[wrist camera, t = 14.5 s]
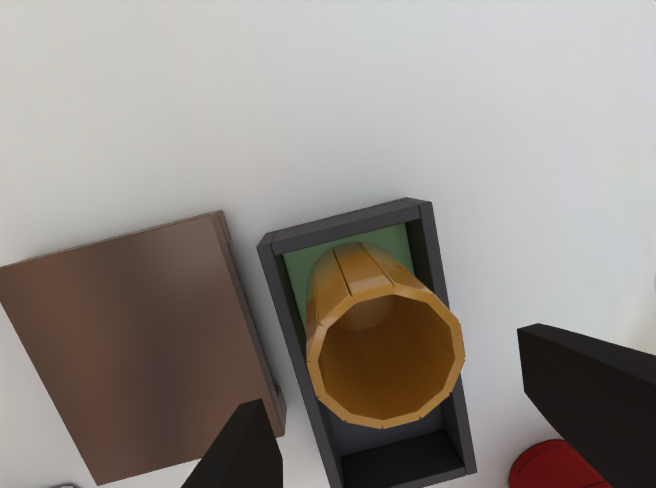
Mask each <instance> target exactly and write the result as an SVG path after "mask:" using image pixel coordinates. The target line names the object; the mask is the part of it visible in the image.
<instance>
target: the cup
mask: <svg viewBox="0 0 656 488" xmlns="http://www.w3.org/2000/svg"><path fill="white" fill-rule="evenodd" d="M464 358H465V351H464V344H463V338H462V331H461V325H460V323H459V320H458V319H457V318H456V317H455V316H454V314H453V313H452V312H451V311H450V310H449V309H448V308H447V307H446V306H445V305H444V304H443V303H442V301H441V300H440V299H439V298H438V297H437V296H436V295H435V294H434V293H433V292H432V291H430V290H429V289H428V288H427V287H426V286H425V285H424V284H423V283H422V282H420V281H419V280H418V279H417V278H416V277H415V276H414V275H413V274H412V273H410V272H409V271H408V270H407V269H406V268H405V267H404V266H403V265H401V264H400V263H399V262H398V261H397V260H396V259H395V258H394V257H393V256H391V255H390V254H389V253H388V252H387V251H386V250H384V249H383V248H380V247H378V246H376V245H373V244H370V243H366V242H358V241H355V242H347V243H343V244H339V245H337V246H335V247H333V248H331V249H329V250H328V251H326V252H325V253H324V254H323V255H322V256H321V257H320V258H319V259H318V260H317V261H316V263H315V264H314V266H313V268H312V270H311V272H310V275H309V278H308V284H307V288H306V364H307V367H308V371H309V374H310V378H311V381H312V384H313V388H314V391H315V395H316V396H318V399H319V400H320V401H321V402H322V403H323V404H324V405H326V406H327V407H328V408H329V409H330V410H331V411H333V412H334V413H335V414H336V415H337V416H338V417H340V418H341V419H342V420H343V421H345V420H346V422H347V423H352V424H358V425H363V426H368V427H373V428H378V429H381V428H382V426H383V428H384V429H386V428H390V427H394V426H398V425H401V424H405V423H409V422H413V421H416V420H419V416H420V417H421V418H423V417H424V416H425V415H427V414H428V413H429V412H430V411H431V410H433V409H434V408H435V407H436V406H437V405H439V404H440V403H441V402H442V401H443V400H444V399H446V398H447V397H448V396H449V395H450V394H449V392H452V391H453V388H454V386H455V383H456V381H457V379H458V376H459V374H460V371H461V369H462V367H463V364H464V362H465V359H464Z"/></svg>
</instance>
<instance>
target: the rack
mask: <svg viewBox="0 0 656 488" xmlns="http://www.w3.org/2000/svg"><path fill="white" fill-rule="evenodd" d="M355 241H358V242H366V243H370V244H373V245H376V246H378V247H380V248H383V249H384V250H386V251H387V252H388V253H389V254H390V255H391V256H393V257H394V258H395V259H396V260H397V261H398V262H399V263H400V264H401V265H403V266H404V267H405V268H406V269H407V270H408V271H409V272H410V273H412V274H413V275H414V276H415V277H416V278H417V279H418V280H419V281H420V282H422V283H423V284H424V285H425V286H426V287H427V288H428V289H429V290H430V291H432V292H433V293H434V294H435V295H436V296H437V297H438V298H439V299H440V300H441V301H442V303H443V304H444V305H445V306H446V307H447V308H448V309H449V310H450V308H449V302H448V296H447V290H446V284H445V278H444V272H443V266H442V260H441V254H440V248H439V242H438V236H437V231H436V225H435V219H434V213H433V207H432V202H429V201H424V200H418V199H413V198H408V197H407V198H403V199H399V200H395V201H391V202H387V203H383V204H379V205H375V206H372V207H368V208H364V209H360V210H356V211H352V212H348V213H344V214H340V215H336V216H333V217H329V218H325V219H321V220H317V221H313V222H309V223H305V224H301V225H297V226H293V227H290V228H286V229H282V230H278V231H274V232H270V233H266V234H265V236H264V237H263V239H262V240H261V241H260V243H259V244H258V246H257V251H258V254H259V257H260V260H261V264H262V267H263V270H264V273H265V277H266V280H267V283H268V286H269V290H270V293H271V296H272V299H273V303H274V306H275V309H276V312H277V315H278V319H279V322H280V325H281V328H282V332H283V335H284V338H285V341H286V345H287V348H288V351H289V354H290V358H291V361H292V364H293V367H294V371H295V374H296V377H297V380H298V384H299V387H300V390H301V393H302V397H303V400H304V403H305V406H306V409H307V413H308V416H309V419H310V422H311V426H312V429H313V432H314V435H315V439H316V442H317V445H318V448H319V452H320V455H321V458H322V461H323V465H324V468H325V471H326V474H327V478H328V481H329V484H330V487H331V488H423V487H427V486H430V485H434V484H438V483H441V482H445V481H448V480H452V479H456V478H459V477H463V476H466V474H467V475H470V474H474V473H477V468H476V462H475V456H474V450H473V444H472V438H471V432H470V426H469V420H468V414H467V409H466V403H465V397H464V391H463V385H462V379H461V373H460V374H459V376H458V379H457V381H456V383H455V386H454V388H453V391H452V392H449V394H450V395H449V396H448V397H447V398H446V399H444V400H443V401H442V402H441V403H440V404H439V405H437V406H436V407H435V408H434V409H433V410H431V411H430V412H429V413H428V414H427V415H425V416H424V417H423V418H421V417H420V416H419V420H416V421H413V422H409V423H405V424H401V425H398V426H394V427H390V428H386V429H384V428H383V426H382V428H381V429H378V428H373V427H368V426H363V425H358V424H352V423H347V422H346V420H345V421H343V420H342V419H341V418H340V417H338V416H337V415H336V414H335V413H334V412H333V411H331V410H330V409H329V408H328V407H327V406H326V405H324V404H323V403H322V402H321V401H320V400H319V399H318V396H316V395H315V391H314V388H313V384H312V381H311V378H310V374H309V371H308V367H307V364H306V288H307V284H308V278H309V275H310V272H311V270H312V268H313V266H314V264H315V263H316V261H317V260H318V259H319V258H320V257H321V256H322V255H323V254H324V253H325V252H326V251H328V250H329V249H331V248H333V247H335V246H337V245H339V244H343V243H347V242H355Z"/></svg>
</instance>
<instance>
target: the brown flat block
mask: <svg viewBox="0 0 656 488" xmlns="http://www.w3.org/2000/svg"><path fill="white" fill-rule="evenodd" d="M229 241H231V236H230V233H229V230H228V227H227V223H226V220H225V217H224V214H223V211H222V210H219V211H215V212H211V213H207V214H203V215H199V216H195V217H191V218H188V219H184V220H180V221H176V222H172V223H168V224H164V225H160V226H156V227H152V228H148V229H144V230H140V231H136V232H132V233H128V234H124V235H121V236H117V237H113V238H109V239H105V240H101V241H97V242H93V243H89V244H85V245H81V246H77V247H73V248H69V249H65V250H61V251H58V252H54V253H50V254H46V255H42V256H38V257H34V258H30V259H26V260H22V261H19V262H16V263H12V264H9V265H5V266H2V267H0V302H1V304H2V306H3V308H4V310H5V312H6V314H7V316H8V317H9V319H10V321H11V323H12V325H13V327H14V329H15V331H16V333H17V335H18V336H19V338H20V340H21V342H22V344H23V346H24V348H25V350H26V352H27V354H28V355H29V357H30V359H31V361H32V363H33V365H34V367H35V369H36V371H37V373H38V374H39V376H40V378H41V380H42V382H43V384H44V386H45V388H46V390H47V392H48V393H49V395H50V397H51V399H52V401H53V403H54V405H55V407H56V409H57V411H58V412H59V414H60V416H61V418H62V420H63V422H64V424H65V426H66V428H67V430H68V431H69V433H70V435H71V437H72V439H73V441H74V443H75V445H76V447H77V449H78V450H79V452H80V454H81V456H82V458H83V460H84V462H85V464H86V466H87V467H88V469H89V471H90V473H91V475H92V477H93V479H94V481H95V483H96V485H97V486H100V485H103V484H107V483H111V482H115V481H118V480H122V479H126V478H129V477H133V476H137V475H141V474H144V473H148V472H152V471H155V470H159V469H163V468H167V467H170V466H174V465H178V464H181V463H185V462H189V461H193V460H196V459H200V458H202V457H203V456H204V455H205V453H206V452H207V450H208V449H209V447H210V446H211V445H212V443H213V442H214V440H215V439H216V437H217V436H218V434H219V433H220V431H221V430H222V429H223V427H224V426H225V424H226V423H227V421H228V420H229V418H230V417H231V415H232V414H233V413H234V411H235V410H236V408H237V407H238V406H239V404H241V403H245V402H249V401H252V400H256V399H260V398H262V400H263V403H264V406H265V409H266V412H267V415H268V418H269V421H270V423H271V426H272V429H273V432H274V435H275V438H278V437H282V436H284V435H285V424H286V412H287V407H286V404H285V401H284V398H283V395H282V392H281V389H280V386H276V387H274V384H273V381H272V378H271V375H270V372H269V369H268V366H267V363H266V360H265V357H264V354H263V351H262V348H261V345H260V342H259V339H258V336H257V333H256V330H255V327H254V324H253V321H252V318H251V315H250V312H249V309H248V306H247V303H246V300H245V297H244V293H243V290H242V287H241V284H240V281H239V278H238V275H237V272H236V269H235V266H234V263H233V260H232V257H231V254H230V251H229V248H228V245H227V243H228V242H229Z"/></svg>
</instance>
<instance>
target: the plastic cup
mask: <svg viewBox="0 0 656 488" xmlns="http://www.w3.org/2000/svg"><path fill="white" fill-rule="evenodd" d="M508 483H509V488H613V487H612V486H611V485H610V484H609V483H608V482H607V481H606V480H605V479H604V478H602V477H601V476H600V475H599V474H598V473H597V472H596V471H595V470H594V469H593V468H592V467H591V466H590V465H589V464H588V463H587V462H586V461H585V460H584V459H583V458H582V457H581V456H580V455H579V454H578V453H577V452H576V451H575V449H574V448H573V447H572V446H571V445H570V444H569V443H568V442H567V441H565V440H551V441H547V442H544V443H541V444H538V445H535V446H534V447H532V448H531V449H529V450H528V451H527V452H525V453H524V454H522V455H521V457H520V458H519V459H518V460H517V462H516V463H515V464H514V466H513V467H512V470H511V473H510V477H509V480H508Z"/></svg>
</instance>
